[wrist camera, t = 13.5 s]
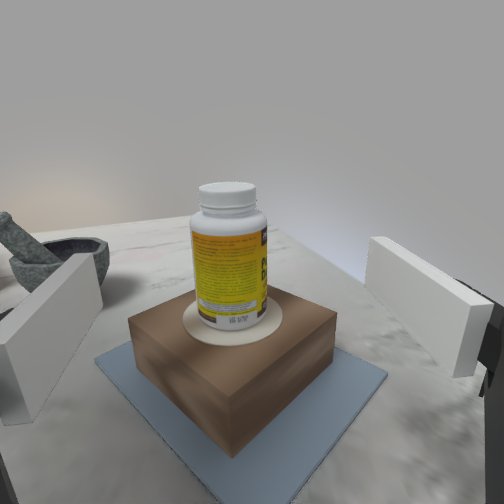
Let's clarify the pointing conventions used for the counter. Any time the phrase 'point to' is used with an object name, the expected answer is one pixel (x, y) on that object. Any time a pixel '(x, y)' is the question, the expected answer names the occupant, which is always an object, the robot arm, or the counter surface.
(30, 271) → the mortar and pestle
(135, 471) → the counter surface
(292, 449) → the mat
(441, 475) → the counter surface
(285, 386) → the foundation block
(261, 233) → the supplement bottle
